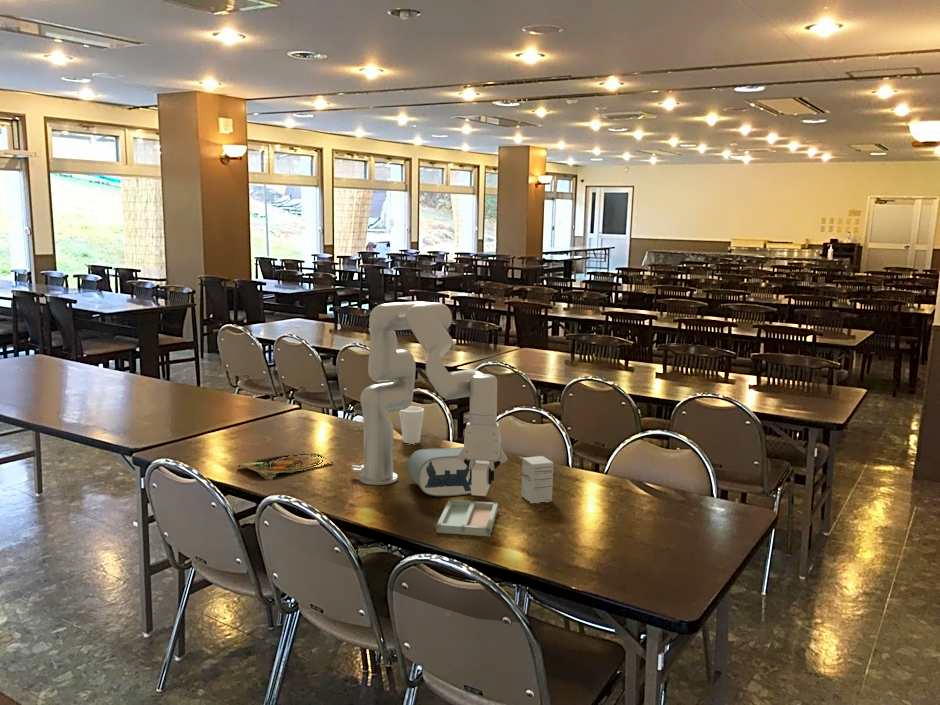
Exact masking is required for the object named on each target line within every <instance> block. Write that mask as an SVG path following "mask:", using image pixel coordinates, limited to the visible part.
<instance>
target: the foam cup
mask: <svg viewBox="0 0 940 705" xmlns="http://www.w3.org/2000/svg"><path fill="white" fill-rule="evenodd" d="M398 416H399V418H400V427H401V435H402V442H405V443H410V444H413V445H415V444H414V443H418V442H419V443H420V442H421V435H422V427H423V421H424V416H425V408H423V407H420V406H415V405H414V406H413V405H410V406H409V407H408V408H406V409H403V410H399V412H398ZM419 443H418V444H419ZM410 444H409V445H410Z"/></svg>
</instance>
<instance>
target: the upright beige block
mask: <svg viewBox="0 0 940 705" xmlns="http://www.w3.org/2000/svg"><path fill="white" fill-rule="evenodd" d="M489 468H490V464H489V461H479V460H476V462H475V464H474V467H473V469H472V485H471V496H478V497H479V496H480V497H486V496H487V495H488V492H489V488H490V487H491V485H489V484H488V481H489Z"/></svg>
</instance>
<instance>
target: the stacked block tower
mask: <svg viewBox="0 0 940 705" xmlns="http://www.w3.org/2000/svg"><path fill="white" fill-rule="evenodd" d="M521 468H522V469H521V471H522V472H521V492H520V493H521V494H520V495H521V497H522V498H523V499H525V500H527V502H528V501H529V502H528V503H529V504H530V505H533V504H532V503H536V504H541V503H540V502H545V503H551V502H552V501H553V487H554V486H553V484H554V482H553V480H554V462H553V461H552V460H550V459H548V458H547V457H545V456H543V455H537V456H528V457H527V456H526V457H522V467H521ZM550 501H551V502H550Z"/></svg>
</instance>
